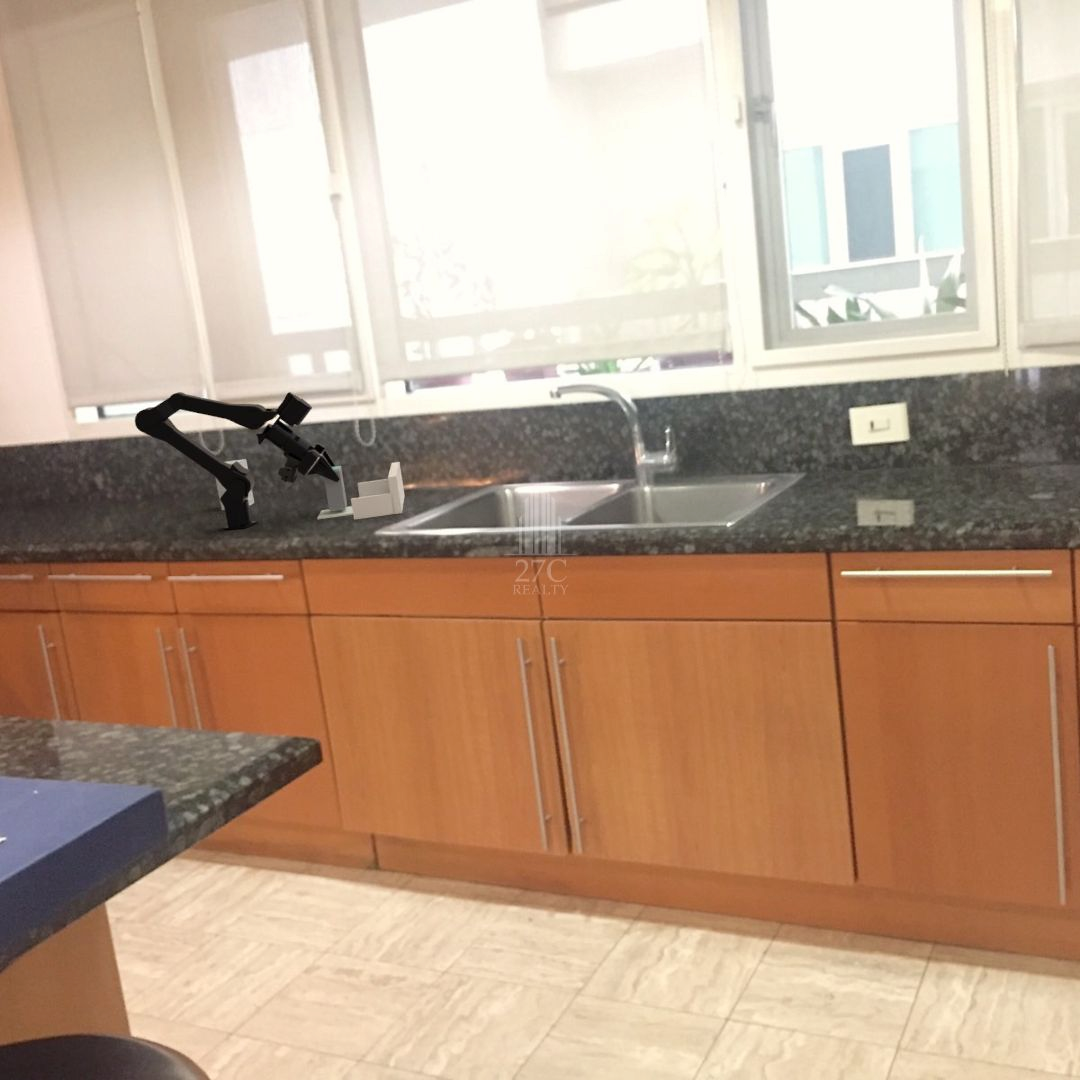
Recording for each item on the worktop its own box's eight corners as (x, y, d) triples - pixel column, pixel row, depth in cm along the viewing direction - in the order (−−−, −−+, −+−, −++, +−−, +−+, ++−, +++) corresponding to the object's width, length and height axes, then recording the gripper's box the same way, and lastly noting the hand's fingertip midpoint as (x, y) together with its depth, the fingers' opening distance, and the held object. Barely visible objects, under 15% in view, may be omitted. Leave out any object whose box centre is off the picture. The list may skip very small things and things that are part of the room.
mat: (317, 519, 292) (317, 518, 292) (321, 511, 303) (321, 510, 303) (358, 513, 293) (357, 512, 292) (360, 506, 303) (360, 504, 303)
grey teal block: (329, 510, 294) (322, 471, 292) (331, 506, 300) (325, 467, 298) (345, 508, 295) (339, 468, 292) (347, 504, 300) (341, 465, 298)
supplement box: (255, 502, 333) (247, 458, 330) (246, 508, 325) (238, 462, 323) (230, 505, 334) (221, 461, 331) (220, 510, 326) (212, 465, 324)
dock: (354, 519, 285) (348, 482, 283) (360, 501, 311) (355, 467, 309) (401, 512, 286) (396, 476, 284) (404, 495, 311) (399, 461, 309)
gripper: (273, 461, 303) (323, 498, 306) (263, 471, 285) (316, 510, 288) (299, 427, 302) (349, 464, 305) (290, 435, 284) (344, 474, 287)
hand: (339, 478), depth 296 cm, fingers closed on grey teal block, 6 cm apart
